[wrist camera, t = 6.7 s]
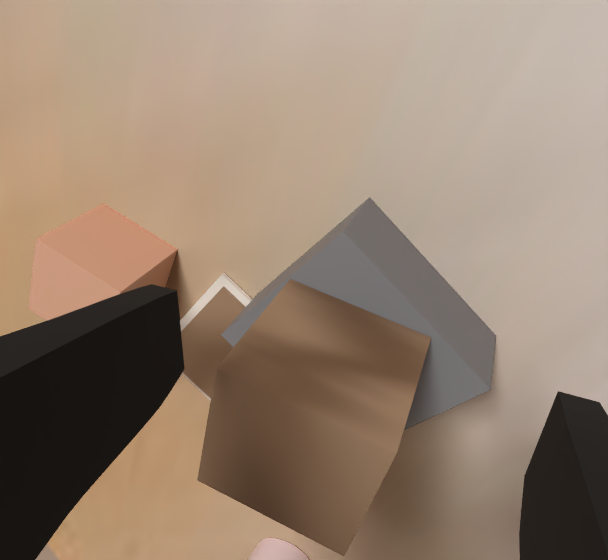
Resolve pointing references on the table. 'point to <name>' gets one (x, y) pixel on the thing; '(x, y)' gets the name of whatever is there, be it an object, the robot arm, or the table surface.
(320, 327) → the walnut cube
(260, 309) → the plinth
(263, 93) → the table surface
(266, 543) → the smoothie
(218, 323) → the swatch
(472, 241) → the table surface
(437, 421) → the table surface
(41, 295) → the terracotta cube
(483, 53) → the table surface
